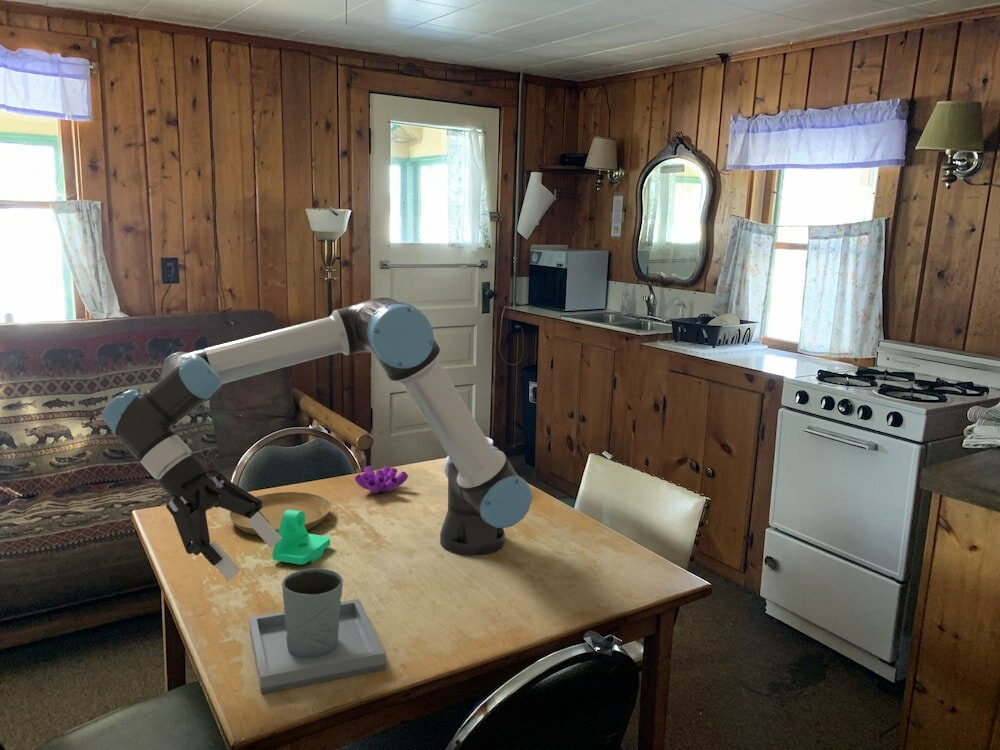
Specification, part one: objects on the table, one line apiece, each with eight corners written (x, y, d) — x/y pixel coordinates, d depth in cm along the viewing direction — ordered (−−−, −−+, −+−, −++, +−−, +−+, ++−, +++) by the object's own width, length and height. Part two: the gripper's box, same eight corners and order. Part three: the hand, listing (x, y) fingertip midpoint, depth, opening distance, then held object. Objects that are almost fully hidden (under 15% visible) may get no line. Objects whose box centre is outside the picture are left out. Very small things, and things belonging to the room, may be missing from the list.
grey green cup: (280, 635, 139) (278, 572, 136) (337, 625, 143) (336, 564, 140) (288, 665, 130) (286, 598, 127) (349, 653, 134) (348, 588, 131)
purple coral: (395, 494, 222) (414, 471, 219) (375, 513, 208) (395, 488, 205) (365, 468, 223) (384, 445, 220) (343, 485, 208) (363, 460, 206)
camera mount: (303, 569, 167) (302, 524, 165) (272, 564, 169) (271, 519, 167) (332, 548, 178) (331, 505, 176) (302, 543, 181) (301, 501, 179)
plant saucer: (266, 550, 177) (265, 536, 176) (210, 522, 192) (209, 509, 191) (351, 520, 195) (350, 508, 194) (294, 497, 210) (293, 485, 209)
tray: (359, 613, 149) (359, 598, 149) (385, 669, 131) (385, 653, 131) (249, 632, 142) (249, 616, 141) (261, 694, 124) (260, 677, 123)
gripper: (205, 459, 149) (279, 542, 149) (113, 505, 125) (200, 604, 125) (228, 435, 147) (304, 519, 146) (139, 477, 123) (229, 577, 123)
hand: (256, 558), depth 136 cm, fingers open, 13 cm apart
